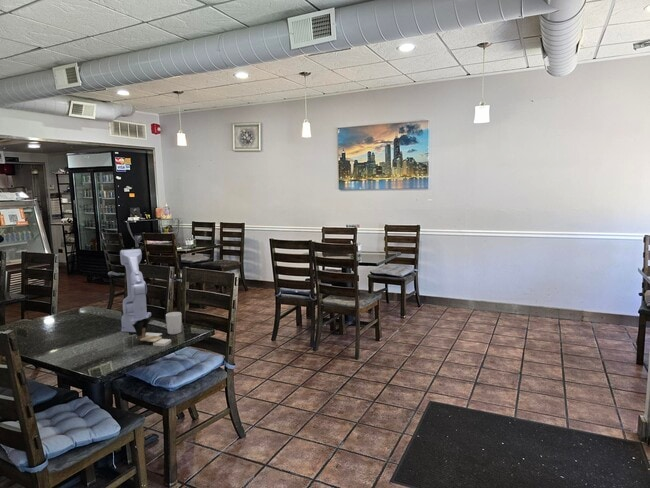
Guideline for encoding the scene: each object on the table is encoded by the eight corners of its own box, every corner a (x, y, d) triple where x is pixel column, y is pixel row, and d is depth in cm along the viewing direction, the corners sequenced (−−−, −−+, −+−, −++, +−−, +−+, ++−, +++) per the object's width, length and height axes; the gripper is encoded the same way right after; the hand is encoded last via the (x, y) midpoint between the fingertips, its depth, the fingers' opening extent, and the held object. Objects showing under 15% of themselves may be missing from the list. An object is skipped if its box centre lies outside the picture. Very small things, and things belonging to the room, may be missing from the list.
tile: (153, 342, 206) (164, 343, 205) (160, 338, 212) (171, 339, 211) (153, 346, 206) (164, 347, 205) (160, 342, 212) (171, 342, 211)
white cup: (169, 335, 220) (168, 316, 219) (164, 332, 227) (163, 313, 225) (184, 332, 225) (183, 314, 224) (179, 329, 231) (178, 311, 230)
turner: (134, 339, 208) (134, 329, 207) (142, 335, 214) (142, 326, 213) (154, 342, 206) (154, 332, 205) (161, 337, 212) (161, 328, 211)
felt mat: (135, 338, 217) (135, 337, 217) (145, 333, 225) (145, 332, 225) (153, 339, 215) (153, 338, 215) (162, 334, 223) (162, 333, 223)
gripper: (138, 311, 201) (139, 339, 203) (156, 304, 215) (157, 330, 217) (124, 311, 202) (126, 338, 204) (143, 303, 216) (144, 329, 218)
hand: (141, 334), depth 210 cm, fingers closed on turner, 3 cm apart
